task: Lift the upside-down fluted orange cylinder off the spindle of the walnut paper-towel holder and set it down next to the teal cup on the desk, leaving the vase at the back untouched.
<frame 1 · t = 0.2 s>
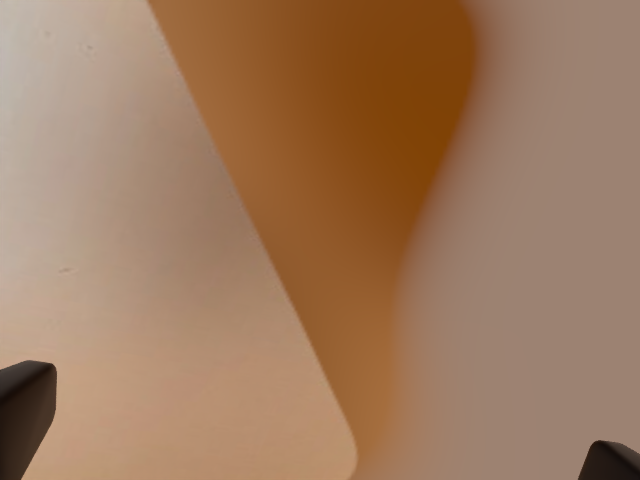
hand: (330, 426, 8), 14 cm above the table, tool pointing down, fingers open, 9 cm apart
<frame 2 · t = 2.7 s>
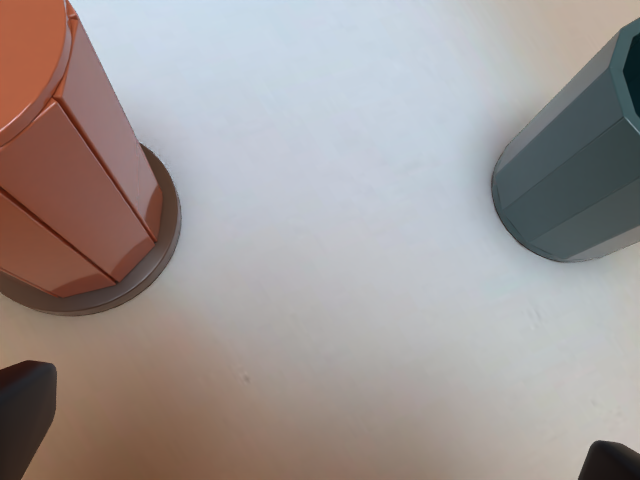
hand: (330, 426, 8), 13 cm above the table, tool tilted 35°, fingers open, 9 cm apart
teal cup: (557, 196, 25), on the table
towel holder: (84, 221, 22), on the table
fluted orange cylinder: (76, 213, 21), point 1 cm above the table, touching towel holder
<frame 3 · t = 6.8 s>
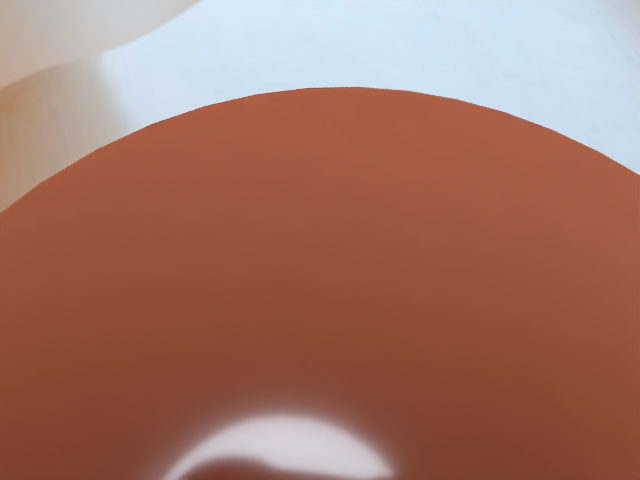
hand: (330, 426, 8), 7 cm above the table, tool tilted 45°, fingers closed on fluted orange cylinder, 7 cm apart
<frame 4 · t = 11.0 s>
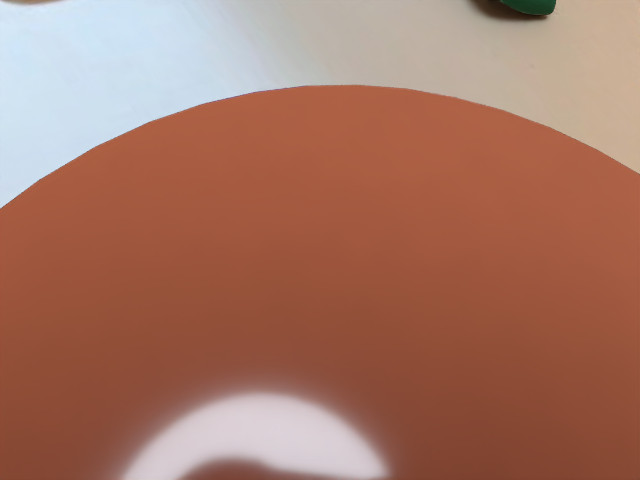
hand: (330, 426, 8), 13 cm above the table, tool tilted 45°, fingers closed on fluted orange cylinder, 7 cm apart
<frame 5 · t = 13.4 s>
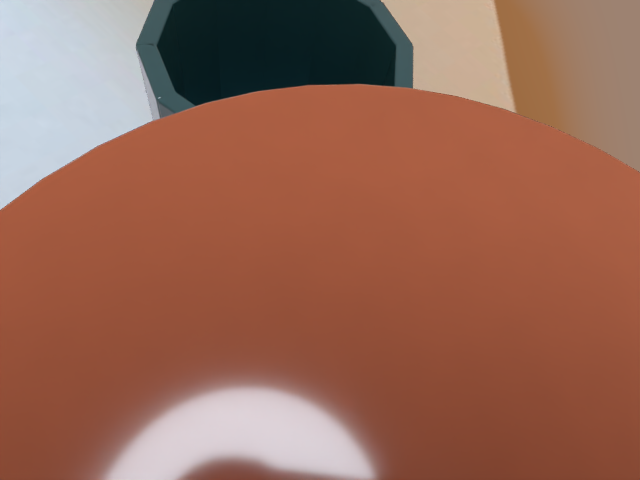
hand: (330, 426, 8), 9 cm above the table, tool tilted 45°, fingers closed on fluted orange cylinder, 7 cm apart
teal cup: (267, 220, 20), on the table
when the fingers open (6 cm above the table, at t = 15.2 s): fluted orange cylinder stays where it is, on the table.
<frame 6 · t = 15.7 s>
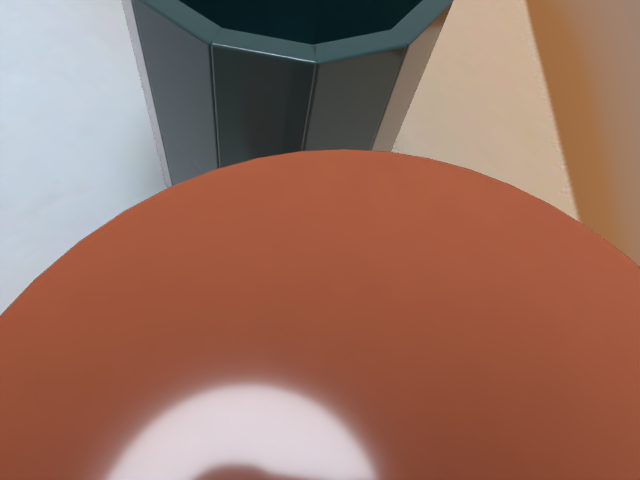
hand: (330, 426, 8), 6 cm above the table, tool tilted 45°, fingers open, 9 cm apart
teal cup: (269, 186, 18), on the table
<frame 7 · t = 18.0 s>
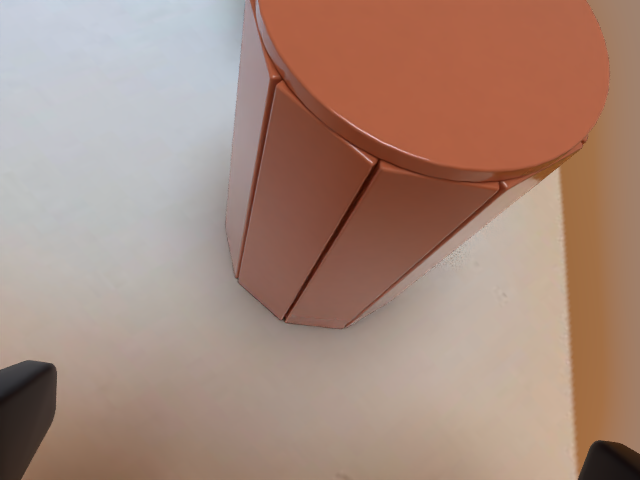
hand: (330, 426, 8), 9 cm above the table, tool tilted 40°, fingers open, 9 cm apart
fluted orange cylinder: (319, 237, 19), on the table
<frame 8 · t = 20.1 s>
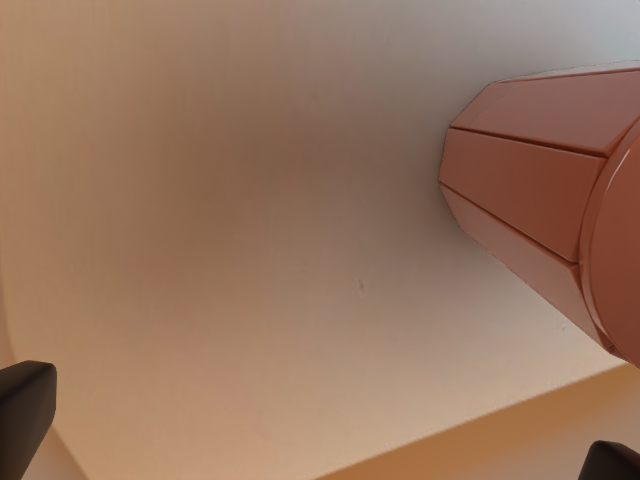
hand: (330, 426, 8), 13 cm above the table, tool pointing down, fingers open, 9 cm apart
fluted orange cylinder: (526, 164, 20), on the table
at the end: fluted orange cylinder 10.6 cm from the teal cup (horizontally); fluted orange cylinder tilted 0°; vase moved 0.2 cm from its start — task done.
